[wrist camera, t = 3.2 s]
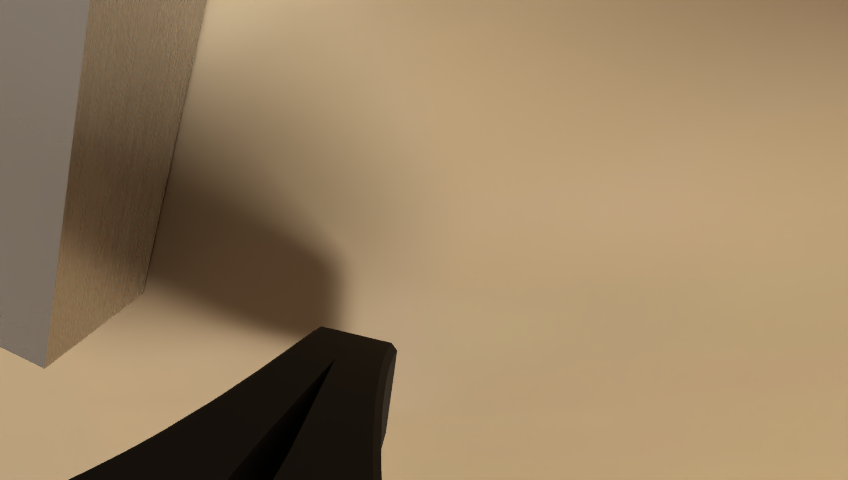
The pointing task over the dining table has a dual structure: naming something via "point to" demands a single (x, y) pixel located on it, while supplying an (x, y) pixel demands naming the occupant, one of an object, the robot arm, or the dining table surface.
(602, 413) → the dining table surface
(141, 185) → the tong arm
